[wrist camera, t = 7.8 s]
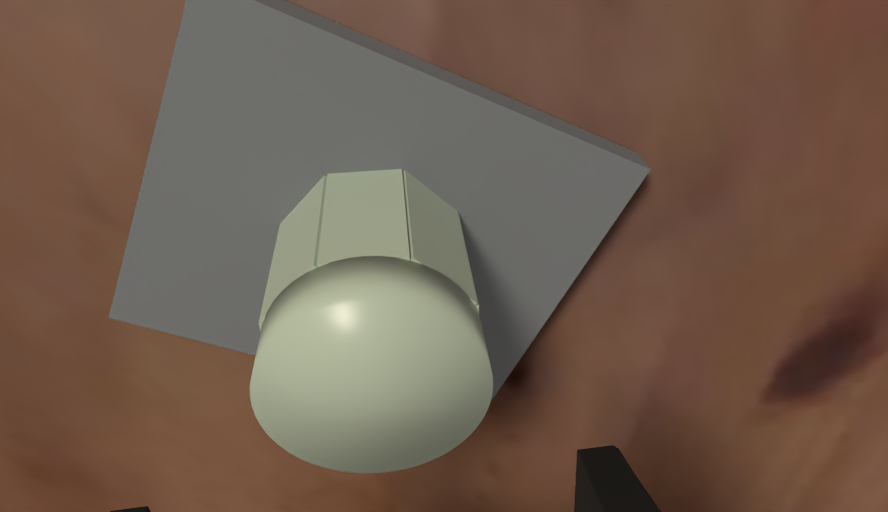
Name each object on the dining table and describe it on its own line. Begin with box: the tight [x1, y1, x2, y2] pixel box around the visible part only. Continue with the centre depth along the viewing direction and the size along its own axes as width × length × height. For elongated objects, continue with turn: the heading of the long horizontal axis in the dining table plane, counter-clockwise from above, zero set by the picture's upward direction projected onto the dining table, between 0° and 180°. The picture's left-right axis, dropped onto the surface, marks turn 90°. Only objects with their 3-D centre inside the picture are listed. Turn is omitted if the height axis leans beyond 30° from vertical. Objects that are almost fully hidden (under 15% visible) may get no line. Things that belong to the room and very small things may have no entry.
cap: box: [250, 169, 493, 473], centre depth 16 cm, size 5×5×6 cm
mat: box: [109, 0, 651, 401], centre depth 18 cm, size 12×10×1 cm
